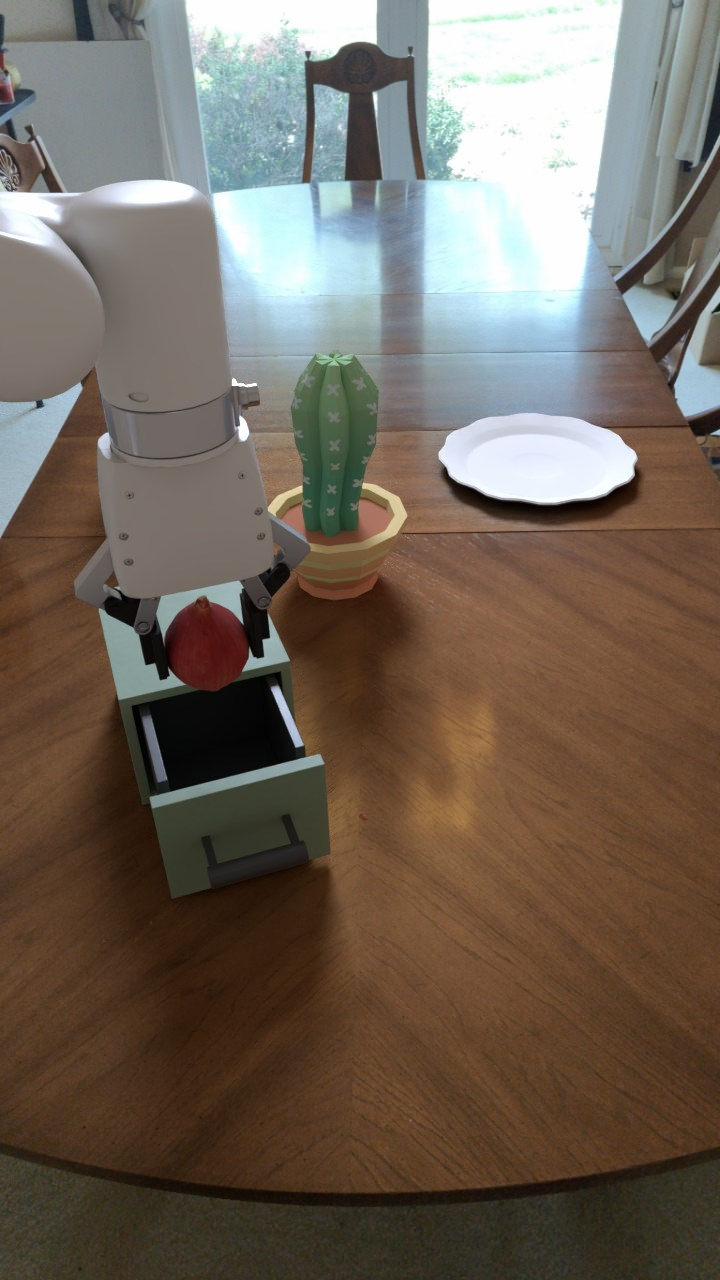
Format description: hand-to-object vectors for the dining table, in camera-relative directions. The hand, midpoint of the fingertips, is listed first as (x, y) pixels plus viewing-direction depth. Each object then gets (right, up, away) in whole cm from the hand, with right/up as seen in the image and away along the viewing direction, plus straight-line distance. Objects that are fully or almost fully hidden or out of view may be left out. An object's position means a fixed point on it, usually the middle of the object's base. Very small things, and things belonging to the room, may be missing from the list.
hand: (208, 655), depth 68 cm
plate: (+34, +23, +60) cm, 73 cm away
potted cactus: (+8, +8, +41) cm, 42 cm away
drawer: (+1, -14, +11) cm, 18 cm away
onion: (0, -3, +2) cm, 3 cm away
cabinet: (-4, -7, +22) cm, 23 cm away
